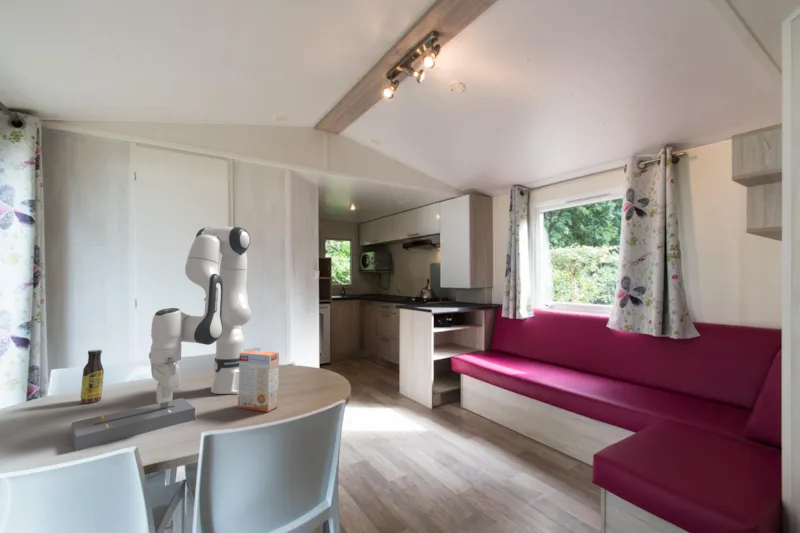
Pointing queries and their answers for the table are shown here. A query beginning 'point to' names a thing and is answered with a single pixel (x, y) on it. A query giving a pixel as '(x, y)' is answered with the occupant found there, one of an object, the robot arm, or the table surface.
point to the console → (129, 423)
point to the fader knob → (160, 398)
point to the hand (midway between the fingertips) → (164, 396)
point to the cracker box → (258, 380)
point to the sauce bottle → (92, 378)
